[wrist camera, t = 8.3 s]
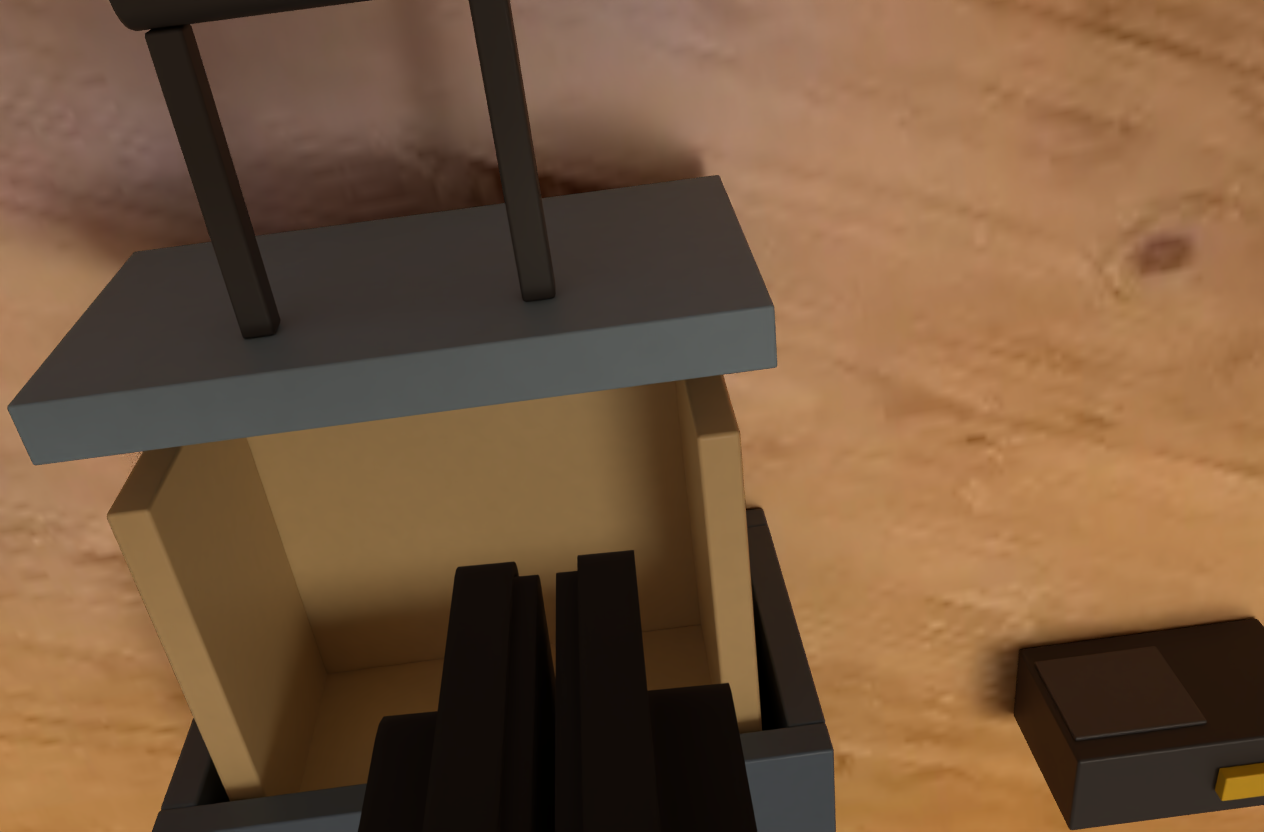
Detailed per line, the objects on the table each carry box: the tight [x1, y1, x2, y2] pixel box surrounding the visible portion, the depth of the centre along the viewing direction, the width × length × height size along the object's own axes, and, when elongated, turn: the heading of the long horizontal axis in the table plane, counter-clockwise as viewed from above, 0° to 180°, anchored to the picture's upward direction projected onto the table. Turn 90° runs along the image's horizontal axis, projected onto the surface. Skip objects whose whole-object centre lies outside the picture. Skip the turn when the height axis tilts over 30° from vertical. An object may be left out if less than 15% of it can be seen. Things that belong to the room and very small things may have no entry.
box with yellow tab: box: [1014, 619, 1264, 830], centre depth 32 cm, size 3×8×5 cm, turn 96°
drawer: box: [7, 0, 777, 801], centre depth 23 cm, size 19×13×7 cm
